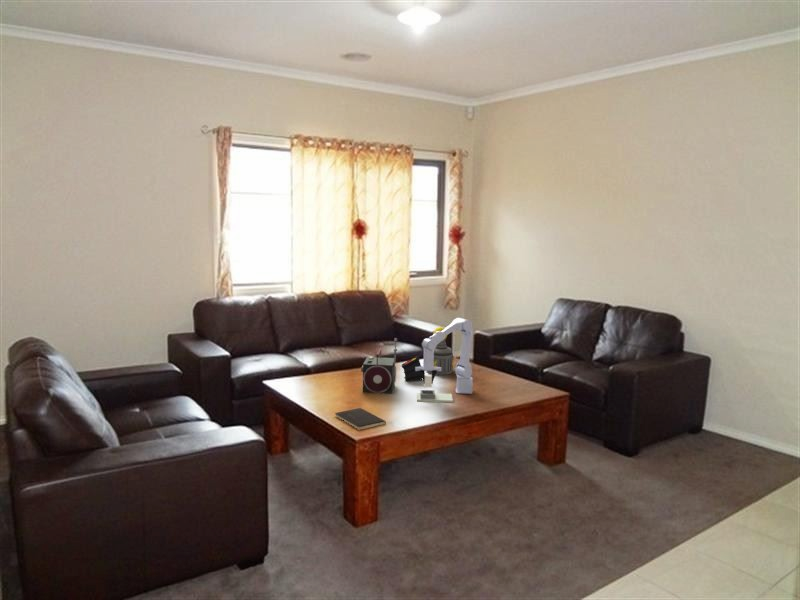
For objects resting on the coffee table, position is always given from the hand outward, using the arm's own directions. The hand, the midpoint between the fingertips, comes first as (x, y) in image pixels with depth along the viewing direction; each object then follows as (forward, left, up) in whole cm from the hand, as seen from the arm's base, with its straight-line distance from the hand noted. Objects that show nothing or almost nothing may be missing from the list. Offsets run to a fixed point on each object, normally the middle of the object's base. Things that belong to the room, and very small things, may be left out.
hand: (427, 383), depth 336 cm
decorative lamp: (-9, -57, -9) cm, 58 cm away
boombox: (+28, -15, -9) cm, 33 cm away
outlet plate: (-4, 0, -9) cm, 10 cm away
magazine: (+9, -34, -9) cm, 36 cm away
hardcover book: (+35, +38, -10) cm, 53 cm away
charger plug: (0, 0, -2) cm, 2 cm away
